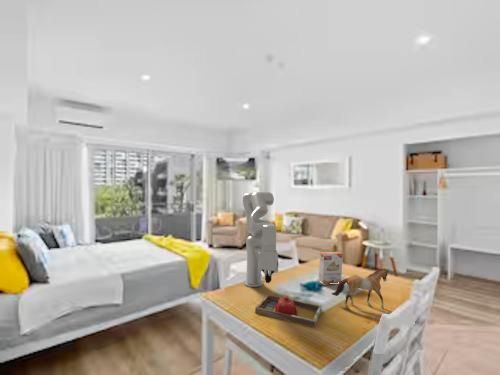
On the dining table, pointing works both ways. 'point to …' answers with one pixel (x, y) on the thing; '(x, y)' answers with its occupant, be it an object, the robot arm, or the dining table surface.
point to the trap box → (274, 301)
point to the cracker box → (330, 267)
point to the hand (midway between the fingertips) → (268, 282)
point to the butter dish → (286, 306)
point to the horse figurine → (363, 285)
